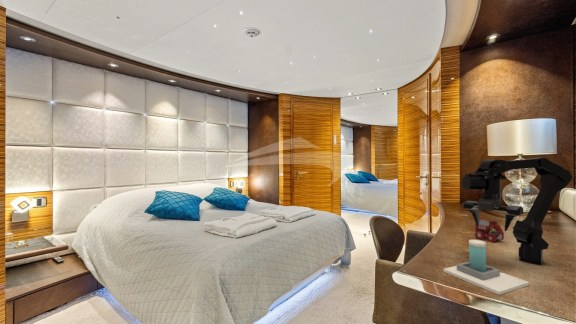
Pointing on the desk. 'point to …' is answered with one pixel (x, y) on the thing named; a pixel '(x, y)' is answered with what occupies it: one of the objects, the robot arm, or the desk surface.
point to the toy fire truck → (488, 230)
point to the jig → (487, 278)
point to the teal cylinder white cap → (477, 255)
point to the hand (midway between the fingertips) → (491, 228)
